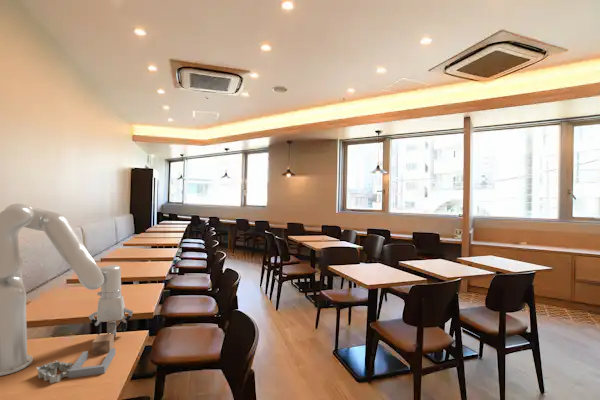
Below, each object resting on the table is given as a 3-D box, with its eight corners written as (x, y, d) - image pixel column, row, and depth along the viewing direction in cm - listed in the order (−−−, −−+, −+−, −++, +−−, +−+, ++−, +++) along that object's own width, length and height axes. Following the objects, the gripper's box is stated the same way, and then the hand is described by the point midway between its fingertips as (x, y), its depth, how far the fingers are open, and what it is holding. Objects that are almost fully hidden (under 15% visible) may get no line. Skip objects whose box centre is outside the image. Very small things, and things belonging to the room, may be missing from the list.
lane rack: (68, 378, 110) (68, 371, 109) (83, 357, 123) (83, 351, 122) (104, 373, 113) (104, 366, 112) (115, 353, 126) (115, 347, 125)
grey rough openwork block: (75, 374, 112) (75, 363, 112) (50, 386, 105) (50, 374, 105) (59, 366, 117) (59, 355, 117) (34, 377, 110) (34, 365, 110)
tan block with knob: (92, 354, 125) (92, 338, 125) (105, 336, 140) (105, 322, 140) (109, 352, 127) (109, 336, 126) (120, 334, 142) (120, 320, 141)
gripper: (85, 298, 133) (86, 338, 133) (130, 295, 137) (131, 333, 138) (91, 292, 140) (92, 330, 141) (134, 289, 145) (135, 326, 145)
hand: (111, 331), depth 139 cm, fingers open, 9 cm apart
